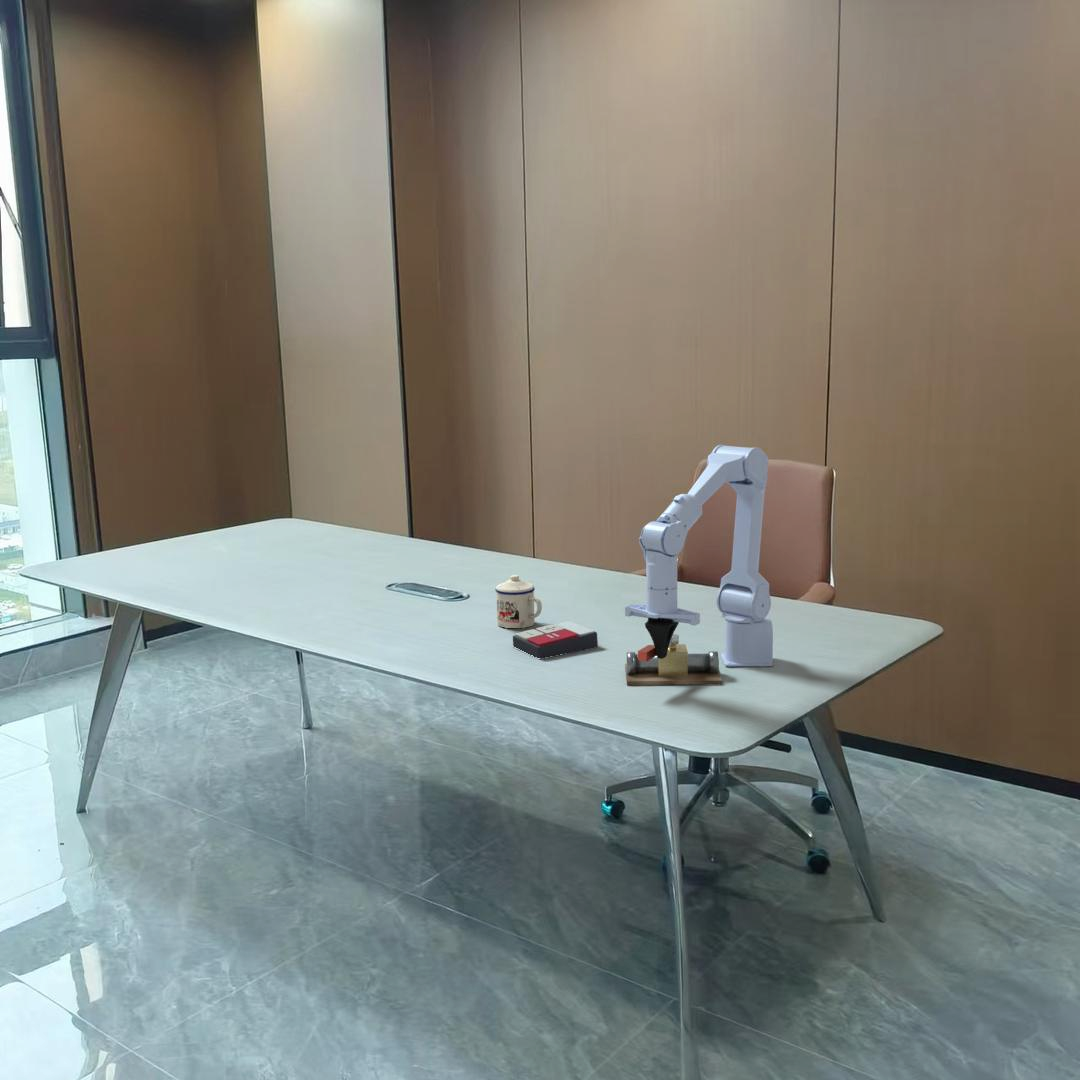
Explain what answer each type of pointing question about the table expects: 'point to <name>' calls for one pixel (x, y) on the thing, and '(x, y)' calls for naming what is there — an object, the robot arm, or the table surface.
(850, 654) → the table surface
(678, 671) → the valve
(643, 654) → the lever
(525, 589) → the teacup with lid
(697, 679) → the board
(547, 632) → the calculator
